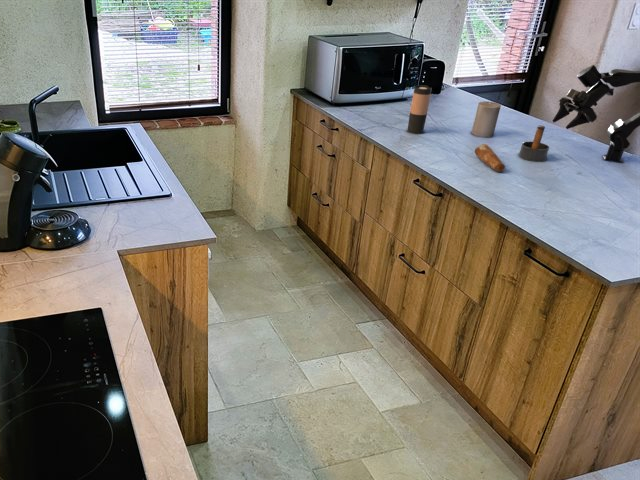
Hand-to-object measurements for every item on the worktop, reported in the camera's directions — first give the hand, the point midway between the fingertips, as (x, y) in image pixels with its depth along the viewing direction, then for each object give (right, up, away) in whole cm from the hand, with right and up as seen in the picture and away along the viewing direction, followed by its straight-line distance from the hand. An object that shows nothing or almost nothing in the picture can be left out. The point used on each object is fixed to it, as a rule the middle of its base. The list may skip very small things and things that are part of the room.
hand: (559, 124), depth 241 cm
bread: (-29, -17, -2) cm, 34 cm away
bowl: (-8, -12, +7) cm, 16 cm away
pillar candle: (-19, +5, +32) cm, 37 cm away
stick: (-8, -11, +6) cm, 15 cm away
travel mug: (-49, +7, +34) cm, 60 cm away
